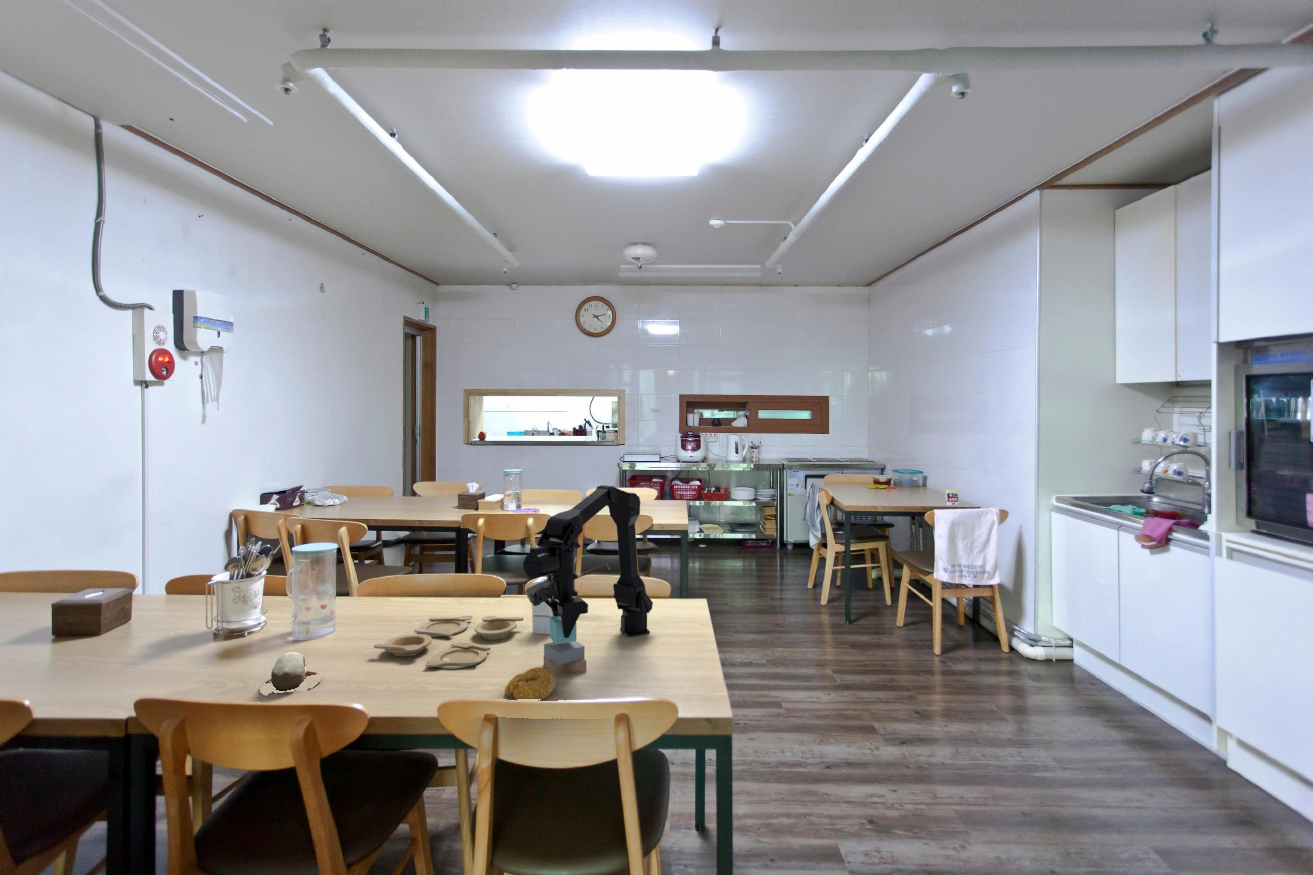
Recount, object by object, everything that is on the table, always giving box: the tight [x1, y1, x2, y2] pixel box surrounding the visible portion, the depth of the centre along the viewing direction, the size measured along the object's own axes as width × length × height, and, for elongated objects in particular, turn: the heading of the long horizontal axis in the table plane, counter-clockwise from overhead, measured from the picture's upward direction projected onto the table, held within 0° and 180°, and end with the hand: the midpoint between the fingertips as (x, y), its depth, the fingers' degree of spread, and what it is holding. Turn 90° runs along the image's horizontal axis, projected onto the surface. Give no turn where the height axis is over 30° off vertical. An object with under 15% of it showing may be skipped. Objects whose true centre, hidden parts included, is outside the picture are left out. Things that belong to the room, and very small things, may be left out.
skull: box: [265, 651, 319, 691], centre depth 141 cm, size 12×10×10 cm
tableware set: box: [373, 615, 524, 670], centre depth 167 cm, size 35×29×4 cm
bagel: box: [504, 667, 557, 700], centre depth 137 cm, size 10×11×5 cm
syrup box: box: [531, 576, 553, 635], centre depth 176 cm, size 6×6×14 cm
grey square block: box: [543, 640, 585, 666], centre depth 151 cm, size 7×7×3 cm
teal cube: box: [549, 616, 577, 644], centre depth 150 cm, size 5×5×5 cm
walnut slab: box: [543, 656, 587, 678], centre depth 151 cm, size 8×8×3 cm
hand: (562, 634), depth 150 cm, fingers closed on teal cube, 5 cm apart
